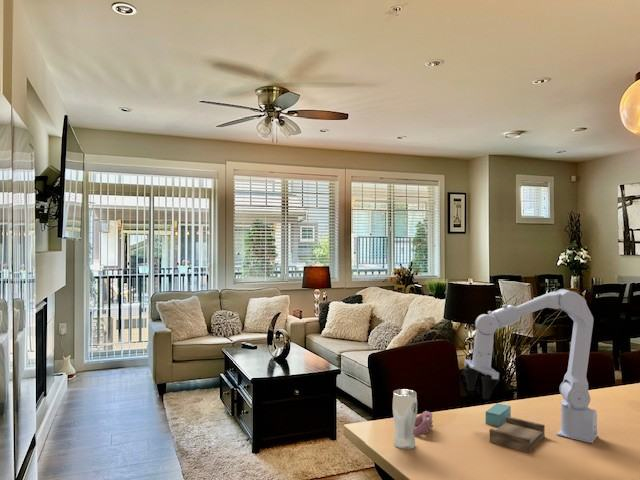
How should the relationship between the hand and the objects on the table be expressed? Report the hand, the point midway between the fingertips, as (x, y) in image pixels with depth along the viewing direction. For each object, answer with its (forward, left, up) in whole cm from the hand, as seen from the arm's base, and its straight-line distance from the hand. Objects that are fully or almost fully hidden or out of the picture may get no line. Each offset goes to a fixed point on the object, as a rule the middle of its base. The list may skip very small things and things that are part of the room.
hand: (478, 394), depth 150 cm
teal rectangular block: (-3, -10, -10) cm, 15 cm away
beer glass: (+10, +28, -10) cm, 32 cm away
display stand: (-13, +2, -10) cm, 16 cm away
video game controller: (+11, +15, -10) cm, 22 cm away
